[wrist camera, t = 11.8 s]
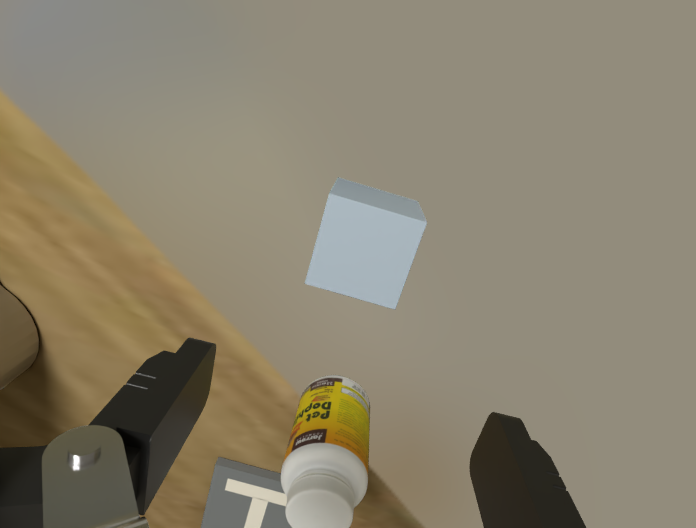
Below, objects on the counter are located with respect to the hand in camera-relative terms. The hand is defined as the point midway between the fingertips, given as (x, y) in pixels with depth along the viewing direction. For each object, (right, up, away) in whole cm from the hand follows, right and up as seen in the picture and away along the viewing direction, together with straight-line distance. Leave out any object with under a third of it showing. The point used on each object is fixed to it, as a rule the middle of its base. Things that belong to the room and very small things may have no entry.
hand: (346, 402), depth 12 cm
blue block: (+1, +6, +17) cm, 18 cm away
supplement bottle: (-1, -7, +22) cm, 23 cm away
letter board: (-8, -18, +26) cm, 33 cm away
